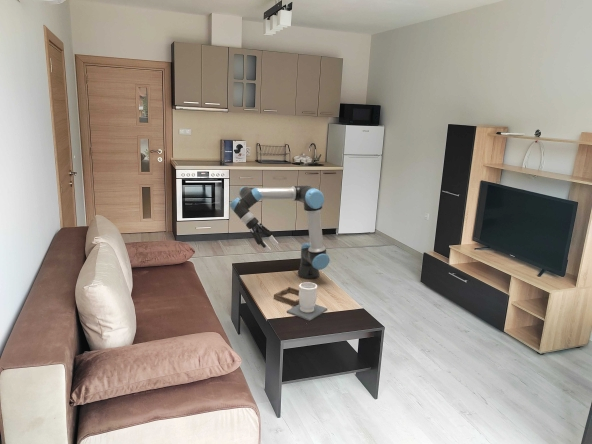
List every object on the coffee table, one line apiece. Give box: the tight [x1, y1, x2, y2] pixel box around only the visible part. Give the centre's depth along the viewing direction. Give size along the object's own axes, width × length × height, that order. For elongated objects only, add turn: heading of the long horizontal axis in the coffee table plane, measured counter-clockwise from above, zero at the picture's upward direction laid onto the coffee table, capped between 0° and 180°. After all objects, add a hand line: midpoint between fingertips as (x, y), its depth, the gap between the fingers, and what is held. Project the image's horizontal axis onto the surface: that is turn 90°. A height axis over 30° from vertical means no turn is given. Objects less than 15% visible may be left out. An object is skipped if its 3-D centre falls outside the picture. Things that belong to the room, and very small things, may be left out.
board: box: [286, 303, 328, 322], centre depth 261 cm, size 18×16×1 cm
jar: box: [298, 281, 318, 313], centre depth 259 cm, size 11×10×15 cm
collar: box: [273, 286, 300, 307], centre depth 277 cm, size 15×16×3 cm
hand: (273, 247), depth 271 cm, fingers open, 13 cm apart
